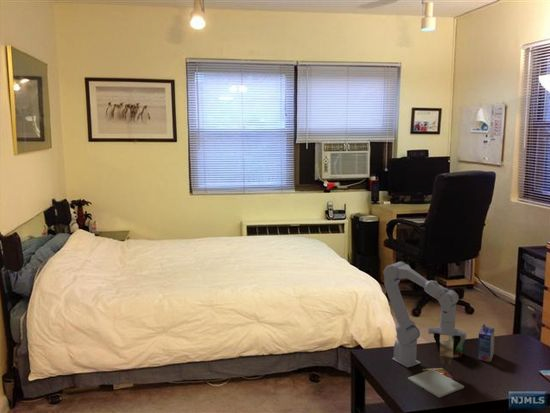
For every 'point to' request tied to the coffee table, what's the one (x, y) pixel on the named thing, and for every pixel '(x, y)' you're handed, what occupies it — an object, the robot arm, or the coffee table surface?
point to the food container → (459, 348)
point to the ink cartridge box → (486, 344)
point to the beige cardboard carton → (446, 351)
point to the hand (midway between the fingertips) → (446, 352)
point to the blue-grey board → (435, 383)
